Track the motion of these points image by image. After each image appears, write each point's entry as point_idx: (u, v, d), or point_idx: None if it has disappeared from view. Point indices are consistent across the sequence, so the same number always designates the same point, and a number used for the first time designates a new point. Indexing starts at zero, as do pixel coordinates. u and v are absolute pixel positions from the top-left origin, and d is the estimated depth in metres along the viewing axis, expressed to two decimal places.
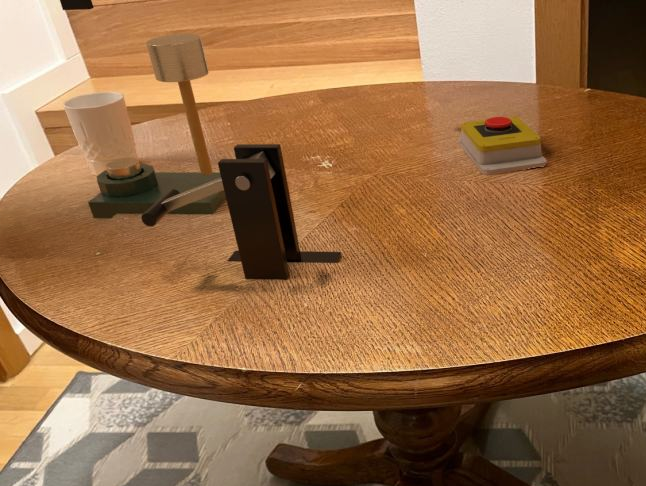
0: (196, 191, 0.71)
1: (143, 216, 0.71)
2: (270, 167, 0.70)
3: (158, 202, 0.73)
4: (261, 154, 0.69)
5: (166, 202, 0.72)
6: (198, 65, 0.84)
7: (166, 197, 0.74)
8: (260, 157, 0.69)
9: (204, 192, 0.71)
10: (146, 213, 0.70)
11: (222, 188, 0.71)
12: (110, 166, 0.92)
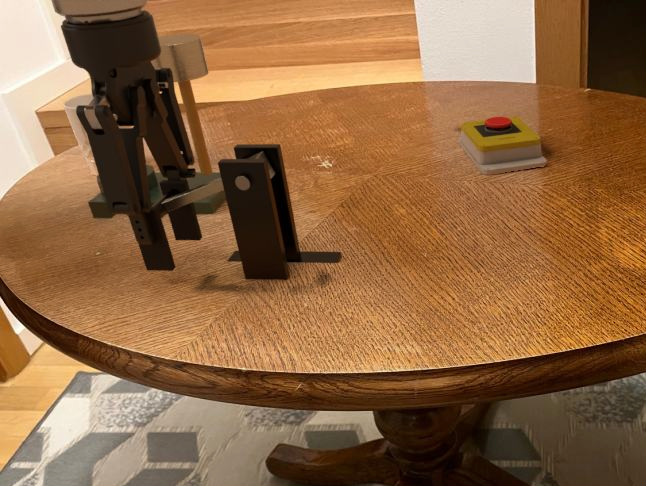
0: (196, 191, 0.71)
1: None
2: (270, 167, 0.70)
3: (158, 202, 0.72)
4: (261, 154, 0.69)
5: (166, 202, 0.72)
6: (198, 65, 0.84)
7: (166, 197, 0.74)
8: (260, 157, 0.69)
9: (204, 192, 0.71)
10: None
11: (222, 188, 0.71)
12: None
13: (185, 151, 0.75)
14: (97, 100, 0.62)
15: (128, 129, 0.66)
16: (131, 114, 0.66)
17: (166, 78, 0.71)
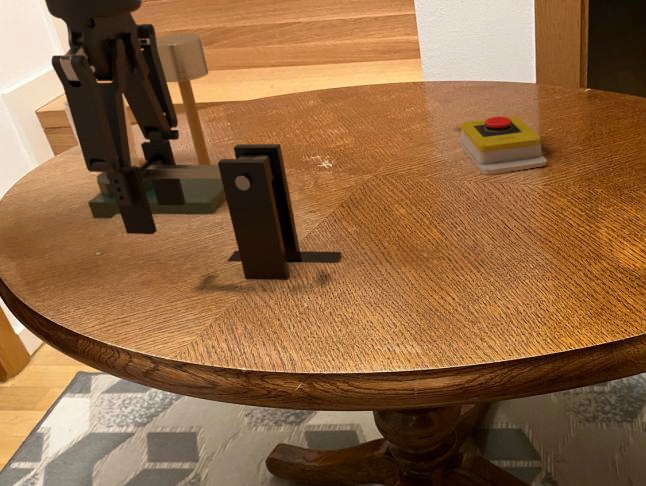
0: (188, 170, 0.70)
1: None
2: (270, 172, 0.71)
3: (143, 166, 0.70)
4: (266, 158, 0.69)
5: (152, 169, 0.70)
6: (198, 65, 0.84)
7: (152, 162, 0.72)
8: None
9: (196, 174, 0.70)
10: None
11: (216, 176, 0.70)
12: None
13: (168, 112, 0.73)
14: (73, 51, 0.60)
15: (107, 83, 0.64)
16: (110, 68, 0.63)
17: (148, 34, 0.69)
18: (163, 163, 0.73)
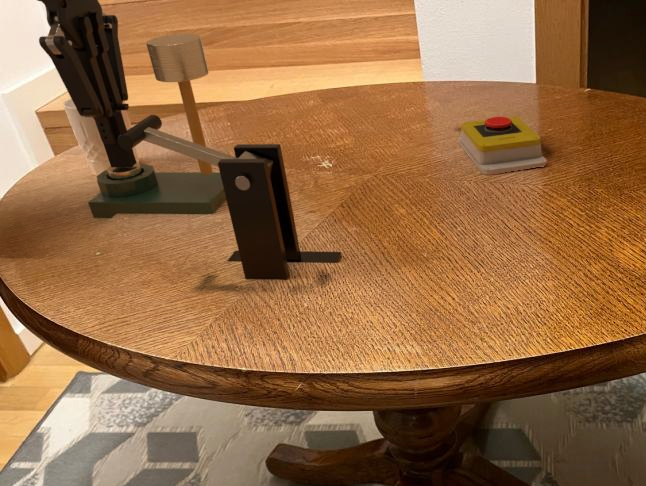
0: (187, 147, 0.69)
1: (122, 136, 0.66)
2: None
3: (141, 127, 0.68)
4: (271, 164, 0.70)
5: (149, 133, 0.68)
6: (198, 65, 0.84)
7: (149, 125, 0.69)
8: (269, 167, 0.69)
9: (194, 154, 0.69)
10: (127, 136, 0.66)
11: (214, 163, 0.69)
12: (111, 170, 0.93)
13: (120, 85, 0.90)
14: (53, 31, 0.79)
15: (83, 52, 0.84)
16: (83, 40, 0.83)
17: (111, 21, 0.88)
18: (159, 126, 0.71)
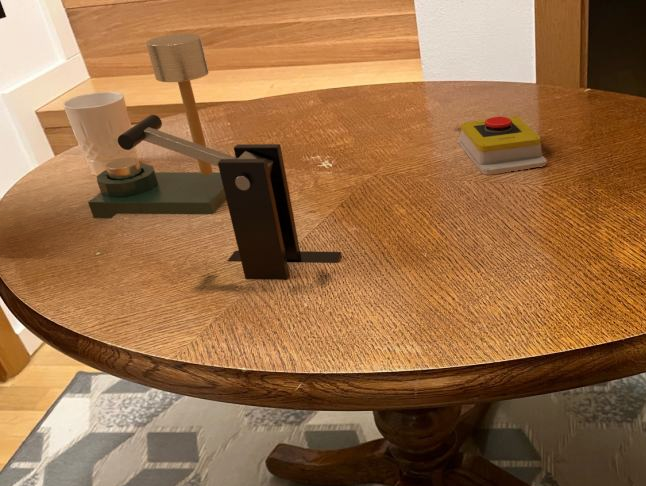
0: (187, 147, 0.69)
1: (122, 136, 0.66)
2: None
3: (141, 127, 0.68)
4: (271, 164, 0.70)
5: (149, 133, 0.68)
6: (198, 65, 0.84)
7: (149, 125, 0.69)
8: (269, 167, 0.69)
9: (194, 154, 0.69)
10: (127, 136, 0.66)
11: (214, 163, 0.69)
12: (110, 166, 0.92)
13: None
14: None
15: None
16: None
17: None
18: (159, 126, 0.71)
